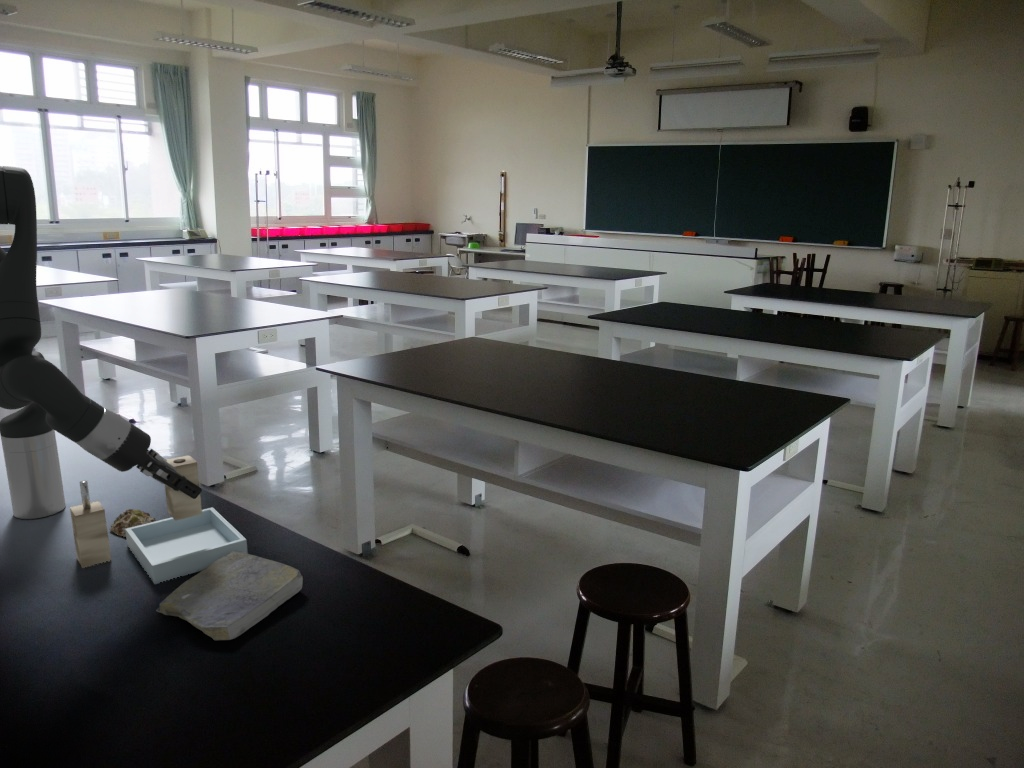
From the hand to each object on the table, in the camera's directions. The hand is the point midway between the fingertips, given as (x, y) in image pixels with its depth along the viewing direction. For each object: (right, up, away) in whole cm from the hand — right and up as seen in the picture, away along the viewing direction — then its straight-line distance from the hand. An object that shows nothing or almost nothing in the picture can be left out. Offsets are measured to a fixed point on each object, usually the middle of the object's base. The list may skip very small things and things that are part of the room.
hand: (193, 489), depth 137 cm
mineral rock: (-17, -10, +12) cm, 23 cm away
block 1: (-18, -13, -1) cm, 22 cm away
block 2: (-1, -4, 0) cm, 5 cm away
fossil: (+12, -17, -13) cm, 25 cm away
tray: (-2, -12, +3) cm, 12 cm away
